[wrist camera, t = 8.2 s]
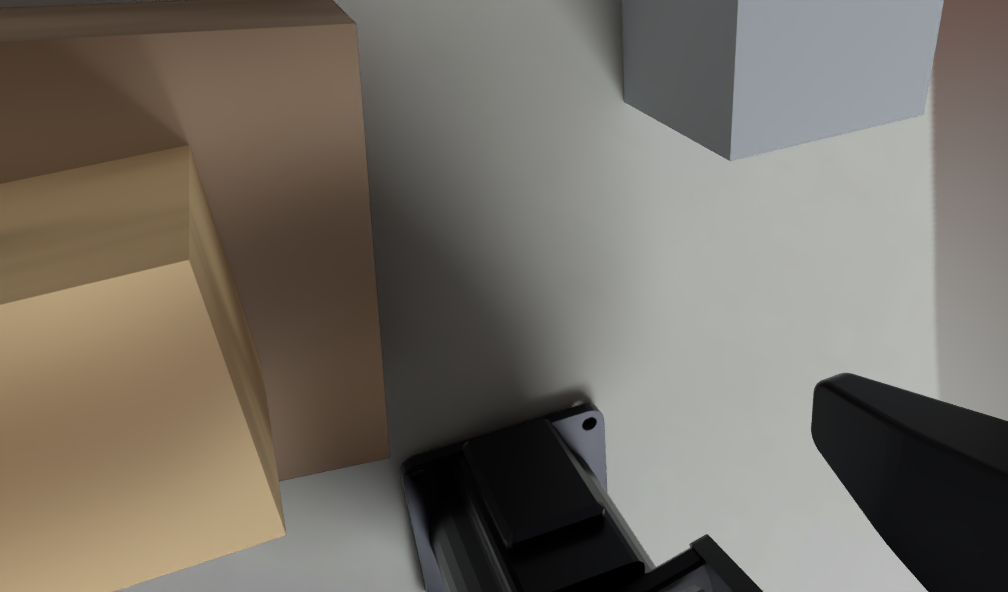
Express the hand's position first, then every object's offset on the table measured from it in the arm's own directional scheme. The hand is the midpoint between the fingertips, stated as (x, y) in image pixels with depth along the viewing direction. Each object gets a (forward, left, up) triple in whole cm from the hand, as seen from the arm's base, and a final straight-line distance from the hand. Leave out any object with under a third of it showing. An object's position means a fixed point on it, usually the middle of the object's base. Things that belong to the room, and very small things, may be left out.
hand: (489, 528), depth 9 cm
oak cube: (0, +5, -8) cm, 10 cm away
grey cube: (+3, -10, -12) cm, 16 cm away
